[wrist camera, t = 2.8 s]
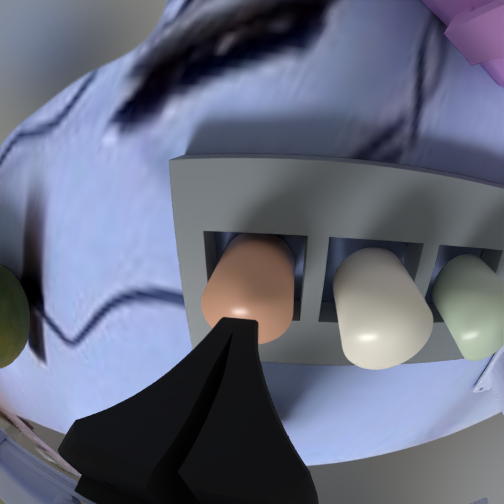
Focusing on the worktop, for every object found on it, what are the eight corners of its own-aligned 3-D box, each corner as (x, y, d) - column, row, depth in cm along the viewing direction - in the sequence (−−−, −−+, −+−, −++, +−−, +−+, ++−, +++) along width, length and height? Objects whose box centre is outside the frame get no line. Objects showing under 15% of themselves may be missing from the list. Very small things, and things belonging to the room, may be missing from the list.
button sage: (492, 255, 12) (532, 293, 8) (472, 311, 14) (501, 356, 10) (442, 251, 13) (480, 295, 9) (423, 313, 14) (448, 364, 11)
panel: (511, 187, 12) (530, 196, 10) (462, 340, 17) (472, 357, 15) (183, 154, 14) (168, 160, 13) (201, 334, 20) (193, 353, 18)
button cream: (411, 249, 13) (445, 296, 9) (394, 313, 15) (415, 367, 11) (337, 244, 14) (352, 294, 10) (327, 311, 15) (333, 369, 11)
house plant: (-6, 407, 57) (-25, 435, 42) (17, 425, 56) (-3, 457, 41) (12, 427, 63) (-6, 454, 48) (34, 444, 62) (17, 473, 47)
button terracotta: (296, 232, 15) (296, 272, 11) (292, 296, 17) (289, 347, 13) (221, 229, 16) (196, 266, 12) (225, 292, 17) (205, 339, 13)
